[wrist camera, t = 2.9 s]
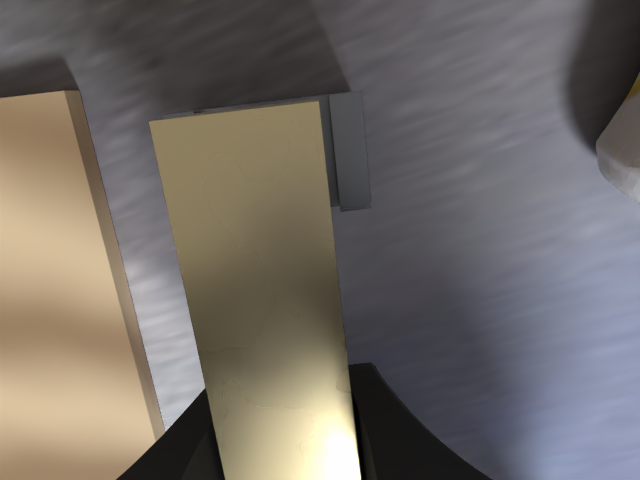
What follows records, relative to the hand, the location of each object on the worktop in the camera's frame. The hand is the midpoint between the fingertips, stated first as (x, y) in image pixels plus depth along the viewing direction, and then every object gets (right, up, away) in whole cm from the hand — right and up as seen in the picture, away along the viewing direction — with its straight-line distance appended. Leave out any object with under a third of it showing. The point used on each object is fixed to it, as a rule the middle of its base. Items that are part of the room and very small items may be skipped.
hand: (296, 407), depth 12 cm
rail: (0, 0, 0) cm, 0 cm away
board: (-10, +1, +6) cm, 12 cm away
